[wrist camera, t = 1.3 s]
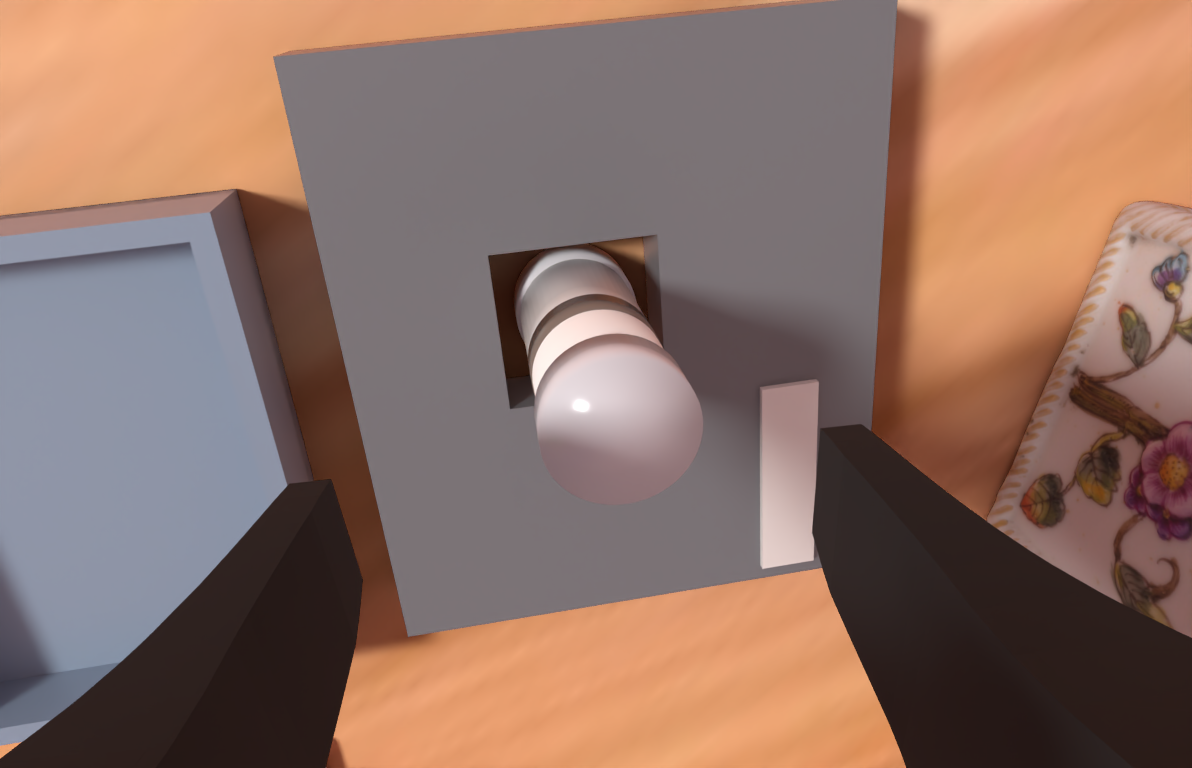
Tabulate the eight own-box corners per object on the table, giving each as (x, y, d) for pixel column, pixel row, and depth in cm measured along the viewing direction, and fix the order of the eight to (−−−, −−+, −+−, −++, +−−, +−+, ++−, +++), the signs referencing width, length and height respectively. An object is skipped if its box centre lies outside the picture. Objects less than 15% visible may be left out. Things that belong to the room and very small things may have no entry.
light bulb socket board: (837, 524, 28) (866, 564, 26) (411, 593, 27) (408, 641, 25) (860, -6, 21) (902, -6, 19) (289, 51, 20) (271, 57, 18)
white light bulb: (632, 344, 24) (705, 491, 17) (521, 359, 24) (548, 516, 17) (624, 235, 23) (700, 345, 16) (506, 250, 23) (529, 369, 15)
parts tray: (353, 628, 27) (344, 686, 25) (-12, 689, 26) (-57, 755, 24) (235, 189, 21) (210, 211, 19) (-245, 243, 20) (-335, 275, 18)
